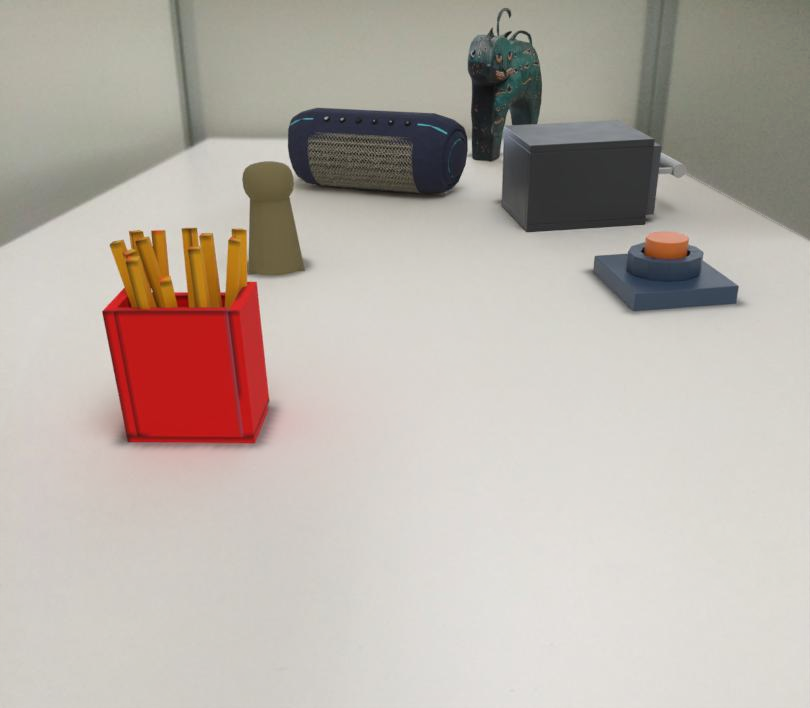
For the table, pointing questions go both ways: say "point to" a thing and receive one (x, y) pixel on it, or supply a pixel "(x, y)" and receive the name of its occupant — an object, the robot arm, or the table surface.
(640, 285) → the control block
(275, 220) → the cork
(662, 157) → the drawer
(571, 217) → the grey box
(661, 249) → the button
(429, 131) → the portable speaker
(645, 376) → the table surface
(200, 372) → the french fries container
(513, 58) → the green animal figurine
